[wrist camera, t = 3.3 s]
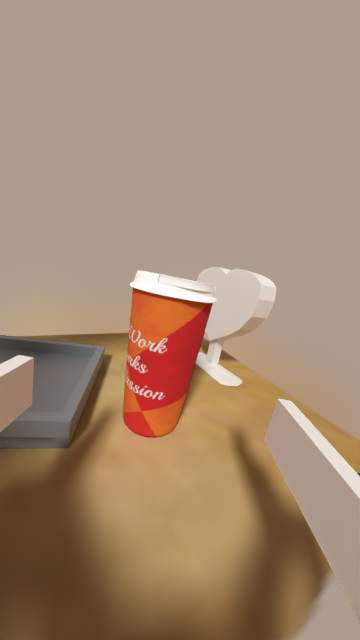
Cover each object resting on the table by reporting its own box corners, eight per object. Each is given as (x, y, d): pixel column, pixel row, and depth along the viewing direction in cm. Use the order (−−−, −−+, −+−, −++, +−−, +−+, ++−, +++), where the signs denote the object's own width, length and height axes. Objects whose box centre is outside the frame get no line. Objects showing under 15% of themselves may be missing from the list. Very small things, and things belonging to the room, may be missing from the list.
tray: (-208, 448, 13) (-217, 414, 12) (-17, 350, 28) (-18, 333, 27) (68, 447, 16) (70, 421, 16) (103, 361, 31) (105, 346, 31)
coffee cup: (105, 397, 23) (122, 266, 20) (169, 389, 27) (191, 279, 24) (121, 460, 16) (150, 272, 13) (203, 437, 20) (241, 290, 17)
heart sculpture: (251, 387, 33) (285, 276, 29) (229, 391, 30) (263, 270, 26) (198, 349, 45) (216, 269, 42) (179, 349, 43) (196, 264, 39)
